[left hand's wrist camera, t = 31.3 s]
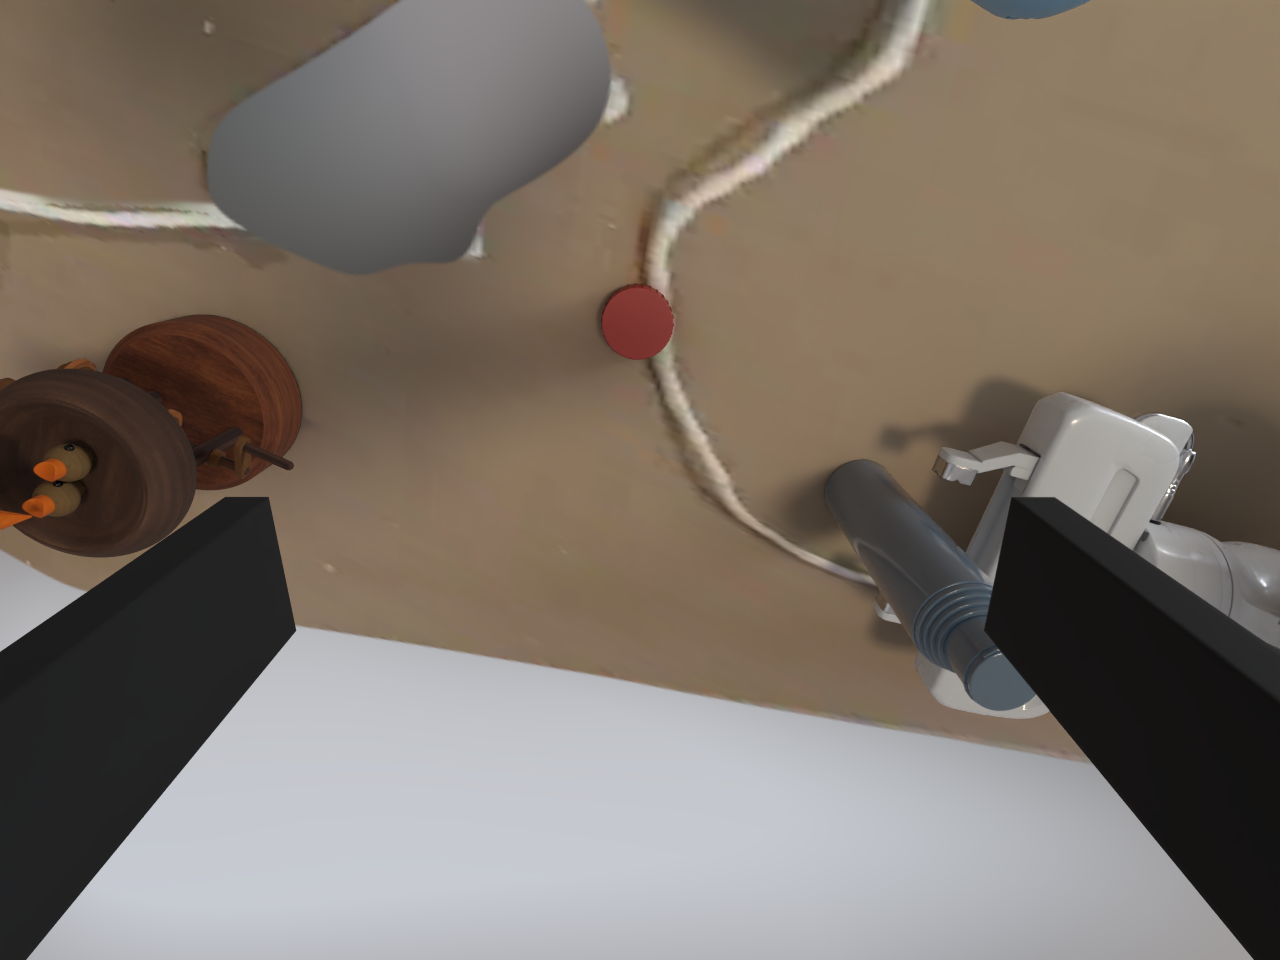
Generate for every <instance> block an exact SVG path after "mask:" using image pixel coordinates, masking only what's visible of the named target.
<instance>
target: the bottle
mask: <svg viewBox="0 0 1280 960" xmlns="http://www.w3.org/2000/svg"><path fill="white" fill-rule="evenodd" d="M824 497H825V503H826V505H827V508H828V509H829V511H830V513H831V514H832V516H833V517H834V519H835V520H836V522H837V524H838V525H839V527H840V528H841V530H842V531H843V533H844V535H845V536H846V538H847V539H848V541H849V542H850V544H851V546H852V547H853V549H854V550H855V552H856V553H857V555H858V557H859V558H860V560H861V561H862V563H863V564H864V566H865V568H866V569H867V571H868V572H869V574H870V575H871V577H872V579H873V580H874V582H875V583H876V585H877V586H878V588H879V590H880V591H881V593H882V594H883V596H884V597H885V599H886V601H887V602H888V604H889V605H890V607H891V608H892V610H893V612H894V613H895V615H896V616H897V618H898V619H899V621H900V623H901V624H902V626H903V627H904V629H905V630H906V632H907V634H908V635H909V637H910V638H911V640H912V641H913V643H914V645H915V646H916V648H917V649H918V651H919V652H920V653H921V654H922V655H923V656H924V657H925V658H926V659H928V660H929V661H930V662H931V663H933V664H934V665H936V666H939V667H941V668H943V669H946V670H948V671H951V672H953V673H955V674H956V675H957V676H958V677H959V679H960V680H961V682H962V683H963V685H964V689H965V691H966V693H967V694H968V695H969V697H970V698H971V699H972V700H973V701H975V702H976V703H977V704H979V705H980V706H982V707H984V708H986V709H989V710H994V711H1007V710H1012V709H1015V708H1018V707H1020V706H1022V705H1024V704H1026V703H1028V702H1029V701H1030V700H1031V699H1032V698H1034V697H1035V695H1036V694H1035V692H1034V691H1033V690H1032V689H1031V687H1030V686H1029V685H1028V684H1027V683H1026V681H1025V680H1024V679H1023V678H1022V677H1021V675H1020V674H1019V673H1018V672H1017V670H1016V669H1015V668H1014V667H1013V666H1012V664H1011V663H1010V662H1009V661H1008V659H1007V658H1006V657H1005V656H1004V655H1003V653H1002V652H1001V651H1000V650H999V648H998V647H997V646H996V645H995V644H994V642H993V641H992V640H991V639H990V638H989V636H988V635H987V634H986V633H985V631H984V627H985V623H986V618H987V613H988V608H989V603H990V598H991V594H992V589H993V584H994V582H993V581H992V580H991V579H990V578H989V577H988V576H987V575H986V574H985V573H984V572H983V571H982V570H981V569H980V568H979V567H978V566H977V564H976V563H975V562H974V561H973V560H972V559H971V558H970V557H969V556H968V555H967V554H966V553H965V552H964V551H963V550H962V549H961V548H960V547H959V546H958V545H957V544H956V543H955V541H954V540H953V539H952V538H951V537H950V536H949V535H948V534H947V533H946V532H945V531H944V530H943V529H942V528H941V527H940V526H939V525H938V524H937V523H936V522H935V521H934V520H933V518H932V517H931V516H930V515H929V514H928V513H927V512H926V511H925V510H924V509H923V508H922V507H921V506H920V505H919V504H918V503H917V502H916V501H915V500H914V499H913V498H912V497H911V495H910V494H909V493H908V492H907V491H906V490H905V489H904V488H903V487H902V486H901V485H900V484H899V483H898V482H897V481H896V480H895V479H894V478H893V477H892V476H891V475H890V474H889V473H888V471H887V470H886V469H885V468H884V467H882V466H881V465H879V464H878V463H876V462H873V461H869V460H856V461H852V462H849V463H846V464H844V465H842V466H841V467H839V468H838V469H837V470H836V471H835V472H834V473H833V474H832V475H831V476H830V478H829V480H828V482H827V484H826V487H825V493H824Z"/></svg>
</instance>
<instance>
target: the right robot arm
mask: <svg viewBox="0 0 1280 960" xmlns="http://www.w3.org/2000/svg"><path fill="white" fill-rule="evenodd" d="M1193 445H1194V432H1193V430H1192V427H1191V426H1190V425H1189V424H1188V423H1187V422H1186V421H1184V420H1183V419H1180V418H1177V417H1173V416H1169V415H1166V414H1162V413H1157V412H1151V413H1143V414H1140V415H1137V416H1135V417H1133V418H1130V417H1127V416H1125V415H1123V414H1121V413H1118V412H1116V411H1114V410H1111V409H1109V408H1106V407H1104V406H1101V405H1099V404H1096V403H1094V402H1091V401H1088V400H1085V399H1083V398H1080V397H1077V396H1074V395H1071V394H1068V393H1064V392H1057V393H1054V394H1052V395H1049V396H1046V397H1044V398H1041V399H1039V400H1038V401H1037V402H1036V404H1035V406H1034V408H1033V410H1032V412H1031V414H1030V416H1029V418H1028V420H1027V423H1026V425H1025V427H1024V429H1023V431H1022V433H1021V435H1020V437H1019V440H1018V442H1017V444H1016V445H1014V444H1010V443H1006V442H1002V441H1001V442H997V443H994V444H990V445H987V446H983V447H980V448H976V449H973V450H969V451H968V452H964V451H960V450H956V449H952V448H948V447H942V448H941V450H940V452H939V455H938V457H937V459H936V462H935V464H934V466H933V469H932V470H933V471H934V472H936V473H937V475H938V476H939V477H941V478H943V479H946V480H949V481H955V480H957V481H958V482H959V483H961V484H965V485H969V486H971V484H972V482H973V480H974V478H975V476H976V474H977V473H982V472H986V471H991V470H996V469H1000V468H1001V469H1002V470H1004V471H1003V474H1002V476H1001V478H1000V480H999V482H998V484H997V486H996V488H995V491H994V493H993V495H992V497H991V499H990V501H989V503H988V505H987V508H986V510H985V512H984V514H983V516H982V518H981V520H980V522H979V524H978V527H977V529H976V531H975V533H974V535H973V537H972V539H971V541H970V544H969V546H968V548H967V550H966V552H965V553H966V554H967V555H968V556H969V557H970V558H971V559H972V560H973V561H974V562H975V563H976V564H977V566H978V567H979V568H980V569H981V570H982V571H983V572H984V573H985V574H986V575H987V576H988V577H989V578H990V579H991V580H992V581H993V582H994V579H995V574H996V569H997V565H998V560H999V555H1000V550H1001V545H1002V540H1003V535H1004V531H1005V526H1006V521H1007V516H1008V511H1009V506H1010V502H1011V497H1055V498H1057V499H1058V500H1060V501H1061V502H1063V503H1064V504H1066V505H1067V506H1068V507H1070V508H1071V509H1073V510H1074V511H1076V512H1077V513H1079V514H1080V515H1082V516H1083V517H1084V518H1086V519H1087V520H1089V521H1090V522H1092V523H1093V524H1095V525H1096V526H1098V527H1099V528H1100V529H1102V530H1103V531H1105V532H1106V533H1108V534H1109V535H1111V536H1112V537H1114V538H1115V539H1116V540H1118V541H1119V542H1121V543H1122V544H1124V545H1125V546H1127V547H1128V548H1130V549H1131V550H1132V551H1134V552H1135V553H1137V554H1138V555H1140V556H1141V557H1143V558H1144V559H1145V560H1147V561H1148V562H1150V563H1151V564H1153V565H1154V566H1156V567H1157V568H1159V569H1160V570H1161V571H1163V572H1164V573H1166V574H1167V575H1169V576H1170V577H1172V578H1173V579H1175V580H1176V581H1177V582H1179V583H1180V584H1182V585H1183V586H1185V587H1186V588H1188V589H1189V590H1191V591H1192V592H1193V593H1195V594H1196V595H1198V596H1199V597H1201V598H1202V599H1204V600H1205V601H1207V602H1208V603H1209V604H1211V605H1212V606H1214V607H1215V608H1217V609H1218V610H1220V611H1221V612H1223V613H1224V614H1225V615H1227V616H1228V617H1230V618H1231V619H1233V620H1234V621H1236V622H1237V623H1238V624H1240V625H1241V626H1243V627H1244V628H1246V629H1247V630H1249V631H1250V632H1252V633H1253V634H1254V635H1256V636H1257V637H1259V638H1260V639H1262V640H1263V641H1265V642H1266V643H1268V644H1271V645H1273V646H1275V647H1277V648H1279V649H1280V550H1277V549H1273V548H1269V547H1266V546H1262V545H1258V544H1253V543H1248V542H1238V541H1227V542H1220V541H1218V540H1217V539H1215V538H1213V537H1212V536H1210V535H1208V534H1206V533H1204V532H1201V531H1199V530H1196V529H1193V528H1189V527H1186V526H1182V525H1177V524H1173V523H1169V522H1165V521H1161V520H1162V518H1163V516H1164V514H1165V513H1166V511H1167V509H1168V507H1169V506H1170V504H1171V502H1172V500H1173V498H1174V496H1175V494H1176V491H1177V490H1176V489H1178V486H1179V484H1180V482H1181V480H1182V479H1183V477H1184V475H1185V474H1187V473H1188V472H1189V470H1190V469H1191V467H1192V466H1193V464H1194V461H1195V459H1196V455H1197V452H1195V451H1193V450H1192V449H1193ZM873 608H874V610H875V611H876V613H877V615H878V616H879V617H880V618H882V619H884V620H886V621H891V622H895V623H899V624H901V623H900V621H899V619H898V618H897V616H896V615H895V613H894V612H893V610H892V608H891V607H890V605H889V604H888V602H887V601H886V599H885V597H884V596H883V594H882V593H881V591H880V592H879V594H878V596H877V598H876V600H875V602H874V605H873ZM914 664H915V668H916V670H917V672H918V674H919V676H920V677H921V679H922V681H923V683H924V685H925V686H926V688H927V689H928V691H929V692H930V693H931V695H932V696H933V697H934V698H935V699H936V700H937V701H938V702H939V703H941V704H942V705H944V706H947V707H950V708H954V709H958V710H962V711H967V712H972V713H978V714H983V715H990V716H997V717H1005V718H1015V719H1026V718H1034V717H1038V716H1041V715H1043V714H1046V713H1047V712H1049V709H1048V708H1047V707H1046V706H1045V705H1044V703H1043V702H1042V701H1041V700H1040V698H1039V697H1038V696H1037V695H1035V697H1034V698H1032V699H1031V700H1030V701H1029V702H1028V703H1026V704H1024V705H1022V706H1020V707H1018V708H1015V709H1012V710H1007V711H994V710H989V709H986V708H984V707H982V706H980V705H979V704H977V703H976V702H975V701H973V700H972V699H971V698H970V697H969V695H968V694H967V693H966V691H965V689H964V685H963V683H962V682H961V680H960V679H959V677H958V676H957V675H956V674H955V673H953V672H951V671H948V670H946V669H943V668H941V667H939V666H936V665H934V664H933V663H931V662H930V661H929V660H928V659H926V658H925V657H924V656H923V655H922V654H921V653H920V652H918V654H917V656H916V658H915V661H914Z"/></svg>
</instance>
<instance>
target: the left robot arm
mask: <svg viewBox="0 0 1280 960" xmlns="http://www.w3.org/2000/svg"><path fill="white" fill-rule="evenodd" d="M971 1H973V2H974V3H976V4H977V5H979V6H980V7H982V8H984V9H985V10H987V11H988V12H990V13H992V14H994V15H996V16H998V17H1002V18H1005V19H1019V18H1022V19H1029V18H1033V19H1040V18H1046V17H1050V16H1053V15H1056V14H1059V13H1062V12H1065V11H1068V10H1070V9H1073V8H1075V7H1078V6H1080V5H1082V4H1084V3H1086V2H1088V1H1090V0H971ZM295 631H296V627H295V623H294V618H293V613H292V608H291V603H290V598H289V594H288V589H287V584H286V579H285V574H284V569H283V565H282V560H281V555H280V550H279V545H278V540H277V535H276V531H275V526H274V521H273V516H272V511H271V506H270V502H269V497H225V498H223V499H222V500H220V501H219V502H217V503H216V504H214V505H213V506H212V507H210V508H209V509H207V510H206V511H204V512H203V513H201V514H200V515H198V516H197V517H196V518H194V519H193V520H191V521H190V522H188V523H187V524H185V525H184V526H182V527H181V528H180V529H178V530H177V531H175V532H174V533H172V534H171V535H169V536H168V537H166V538H165V539H164V540H162V541H161V542H159V543H158V544H156V545H155V546H153V547H152V548H150V549H149V550H148V551H146V552H145V553H143V554H142V555H140V556H139V557H137V558H136V559H135V560H133V561H132V562H130V563H129V564H127V565H126V566H124V567H123V568H121V569H120V570H119V571H117V572H116V573H114V574H113V575H111V576H110V577H108V578H107V579H105V580H104V581H103V582H101V583H100V584H98V585H97V586H95V587H94V588H92V589H91V590H89V591H88V592H87V593H85V594H84V595H82V596H81V597H79V598H78V599H77V600H75V601H73V602H72V603H71V604H69V605H68V606H66V607H65V608H63V609H62V610H60V611H59V612H57V613H56V614H55V615H53V616H52V617H50V618H49V619H47V620H46V621H44V622H43V623H42V624H40V625H39V626H37V627H36V628H34V629H33V630H31V631H30V632H28V633H27V634H26V635H24V636H23V637H21V638H20V639H18V640H17V641H15V642H14V643H12V644H11V645H10V646H8V647H7V648H5V649H4V650H2V651H1V652H0V960H26V959H27V958H28V957H29V956H30V954H31V953H32V952H33V951H34V949H35V948H36V947H37V946H38V945H39V943H40V942H41V941H42V940H43V939H44V937H45V936H46V935H47V934H48V932H49V931H50V930H51V929H52V927H53V926H54V925H55V924H56V923H57V921H58V920H59V919H60V918H61V917H62V915H63V914H64V913H65V912H66V910H67V909H68V908H69V907H70V906H71V904H72V903H73V902H74V901H75V900H76V898H77V897H78V896H79V895H80V893H81V892H82V891H83V890H84V889H85V887H86V886H87V885H88V884H89V882H90V881H91V880H92V879H93V878H94V876H95V875H96V874H97V873H98V871H99V870H100V869H101V868H102V867H103V865H104V864H105V863H106V862H107V861H108V859H109V858H110V857H111V856H112V854H113V853H114V852H115V851H116V850H117V848H118V847H119V846H120V845H121V843H122V842H123V841H124V840H125V839H126V837H127V836H128V835H129V834H130V832H131V831H132V830H133V829H134V828H135V826H136V825H137V824H138V823H139V822H140V820H141V819H142V818H143V817H144V815H145V814H146V813H147V812H148V811H149V809H150V808H151V807H152V806H153V804H154V803H155V802H156V801H157V800H158V798H159V797H160V796H161V795H162V794H163V792H164V791H165V790H166V789H167V787H168V786H169V785H170V784H171V783H172V781H173V780H174V779H175V778H176V776H177V775H178V774H179V773H180V772H181V770H182V769H183V768H184V767H185V765H186V764H187V763H188V762H189V761H190V759H191V758H192V757H193V756H194V754H195V753H196V752H197V751H198V750H199V748H200V747H201V746H202V745H203V744H204V742H205V741H206V740H207V739H208V737H209V736H210V735H211V734H212V733H213V731H214V730H215V729H216V728H217V726H218V725H219V724H220V723H221V722H222V720H223V719H224V718H225V717H226V716H227V714H228V713H229V712H230V711H231V709H232V708H233V707H234V706H235V705H236V703H237V702H238V701H239V700H240V698H241V697H242V696H243V695H244V694H245V692H246V691H247V690H248V689H249V687H250V686H251V685H252V684H253V683H254V681H255V680H256V679H257V678H258V677H259V675H260V674H261V673H262V672H263V670H264V669H265V668H266V667H267V666H268V664H269V663H270V662H271V661H272V659H273V658H274V657H275V656H276V655H277V653H278V652H279V651H280V650H281V648H282V647H283V646H284V645H285V644H286V642H287V641H288V640H289V639H290V638H291V636H292V635H293V634H294V633H295ZM984 631H985V633H986V634H987V635H988V636H989V638H990V639H991V640H992V641H993V642H994V644H995V645H996V646H997V647H998V648H999V650H1000V651H1001V652H1002V653H1003V655H1004V656H1005V657H1006V658H1007V659H1008V661H1009V662H1010V663H1011V664H1012V666H1013V667H1014V668H1015V669H1016V670H1017V672H1018V673H1019V674H1020V675H1021V677H1022V678H1023V679H1024V680H1025V681H1026V683H1027V684H1028V685H1029V686H1030V687H1031V689H1032V690H1033V691H1034V692H1035V694H1036V695H1037V696H1038V697H1039V698H1040V700H1041V701H1042V702H1043V703H1044V705H1045V706H1046V707H1047V708H1048V709H1049V711H1050V712H1051V713H1052V714H1053V716H1054V717H1055V718H1056V719H1057V720H1058V722H1059V723H1060V724H1061V725H1062V726H1063V728H1064V729H1065V730H1066V731H1067V733H1068V734H1069V735H1070V736H1071V737H1072V739H1073V740H1074V741H1075V742H1076V744H1077V745H1078V746H1079V747H1080V748H1081V750H1082V751H1083V752H1084V753H1085V755H1086V756H1087V757H1088V758H1089V759H1090V761H1091V762H1092V763H1093V764H1094V765H1095V767H1096V768H1097V769H1098V770H1099V772H1100V773H1101V774H1102V775H1103V776H1104V778H1105V779H1106V780H1107V781H1108V783H1109V784H1110V785H1111V786H1112V787H1113V789H1114V790H1115V791H1116V792H1117V793H1118V795H1119V796H1120V797H1121V798H1122V799H1123V801H1124V802H1125V803H1126V804H1127V806H1128V807H1129V808H1130V809H1131V811H1132V812H1133V813H1134V814H1135V815H1136V817H1137V818H1138V819H1139V820H1140V822H1141V823H1142V824H1143V825H1144V826H1145V828H1146V829H1147V830H1148V831H1149V832H1150V834H1151V835H1152V836H1153V837H1154V839H1155V840H1156V841H1157V842H1158V843H1159V845H1160V846H1161V847H1162V848H1163V850H1164V851H1165V852H1166V853H1167V854H1168V856H1169V857H1170V858H1171V859H1172V861H1173V862H1174V863H1175V864H1176V865H1177V867H1178V868H1179V869H1180V870H1181V871H1182V873H1183V874H1184V875H1185V876H1186V878H1187V879H1188V880H1189V881H1190V882H1191V884H1192V885H1193V886H1194V887H1195V889H1196V890H1197V891H1198V892H1199V893H1200V895H1201V896H1202V897H1203V898H1204V899H1205V901H1206V902H1207V903H1208V904H1209V906H1210V907H1211V908H1212V909H1213V910H1214V912H1215V913H1216V914H1217V915H1218V917H1219V918H1220V919H1221V920H1222V921H1223V923H1224V924H1225V925H1226V926H1227V928H1228V929H1229V930H1230V931H1231V932H1232V934H1233V935H1234V936H1235V937H1236V939H1237V940H1238V941H1239V942H1240V943H1241V945H1242V946H1243V947H1244V948H1245V949H1246V951H1247V952H1248V953H1249V954H1250V956H1251V957H1252V958H1253V959H1254V960H1280V649H1279V648H1277V647H1275V646H1273V645H1271V644H1268V643H1266V642H1265V641H1263V640H1262V639H1260V638H1259V637H1257V636H1256V635H1254V634H1253V633H1252V632H1250V631H1249V630H1247V629H1246V628H1244V627H1243V626H1241V625H1240V624H1238V623H1237V622H1236V621H1234V620H1233V619H1231V618H1230V617H1228V616H1227V615H1225V614H1224V613H1223V612H1221V611H1220V610H1218V609H1217V608H1215V607H1214V606H1212V605H1211V604H1209V603H1208V602H1207V601H1205V600H1204V599H1202V598H1201V597H1199V596H1198V595H1196V594H1195V593H1193V592H1192V591H1191V590H1189V589H1188V588H1186V587H1185V586H1183V585H1182V584H1180V583H1179V582H1177V581H1176V580H1175V579H1173V578H1172V577H1170V576H1169V575H1167V574H1166V573H1164V572H1163V571H1161V570H1160V569H1159V568H1157V567H1156V566H1154V565H1153V564H1151V563H1150V562H1148V561H1147V560H1145V559H1144V558H1143V557H1141V556H1140V555H1138V554H1137V553H1135V552H1134V551H1132V550H1131V549H1130V548H1128V547H1127V546H1125V545H1124V544H1122V543H1121V542H1119V541H1118V540H1116V539H1115V538H1114V537H1112V536H1111V535H1109V534H1108V533H1106V532H1105V531H1103V530H1102V529H1100V528H1099V527H1098V526H1096V525H1095V524H1093V523H1092V522H1090V521H1089V520H1087V519H1086V518H1084V517H1083V516H1082V515H1080V514H1079V513H1077V512H1076V511H1074V510H1073V509H1071V508H1070V507H1068V506H1067V505H1066V504H1064V503H1063V502H1061V501H1060V500H1058V499H1057V498H1055V497H1011V502H1010V506H1009V511H1008V516H1007V521H1006V526H1005V531H1004V535H1003V540H1002V545H1001V550H1000V555H999V560H998V565H997V569H996V574H995V579H994V584H993V589H992V594H991V598H990V603H989V608H988V613H987V618H986V623H985V627H984Z"/></svg>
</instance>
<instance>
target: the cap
mask: <svg viewBox="0 0 1280 960" xmlns="http://www.w3.org/2000/svg"><path fill="white" fill-rule="evenodd" d="M668 304H669V303H668V301H666V299H665V298H664V295H663V294H660V293H659V292H658V290H655V289H654V288H652V287H651V286H650V287H649V286H646V285H644V284H643V285H638V284H636V285H628V286H626V287H624V288H623V287H621V289H620V290H618V291H617V292H616V291H615V294H614V295H613V296H612V297H611V296H610V298H609V301H608V303H607V302H606V305H605V310H603V313H602V314H603V317H602V319H601V321H602V330H603V334H604V337H605V339H606V341H607V343H608V344H609V346H610V347H611V348H612V349H613V350H614V351H615V352H616V353H618V354H619V355H621V356H623V357H626V358H629V359H636V360H639V359H646V358H649V357H652V356H654V355H656V354H657V353H659V352H660V351H661V350H662V349H663V348H664V347H665V346H666V344H667V343H668V341H669V339H670V337H671V334H672V329H673V326H674V325H673V319H674V318H673V315H672V313H671V311H672V310H671V307H669V305H668Z"/></svg>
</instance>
